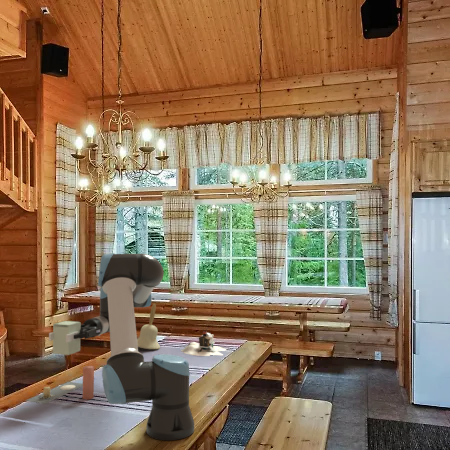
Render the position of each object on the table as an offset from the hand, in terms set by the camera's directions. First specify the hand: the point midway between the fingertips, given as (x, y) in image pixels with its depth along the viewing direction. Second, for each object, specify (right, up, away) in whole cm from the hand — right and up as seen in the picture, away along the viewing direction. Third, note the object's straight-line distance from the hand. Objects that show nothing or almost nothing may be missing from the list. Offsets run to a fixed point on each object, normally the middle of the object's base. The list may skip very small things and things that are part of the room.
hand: (58, 337), depth 170 cm
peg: (+10, -24, +4) cm, 26 cm away
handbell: (+18, -27, +84) cm, 90 cm away
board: (-4, -24, +10) cm, 26 cm away
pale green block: (+2, -7, +4) cm, 8 cm away
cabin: (+52, -27, +80) cm, 99 cm away
